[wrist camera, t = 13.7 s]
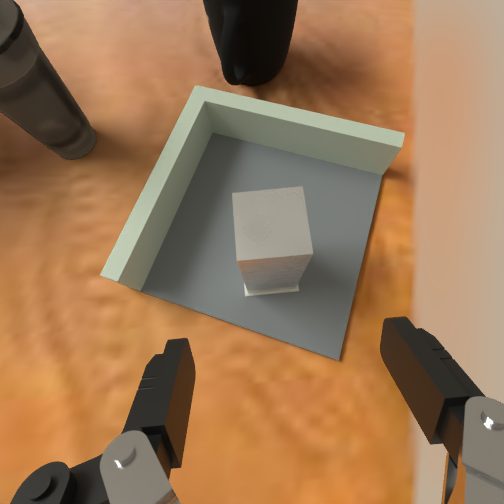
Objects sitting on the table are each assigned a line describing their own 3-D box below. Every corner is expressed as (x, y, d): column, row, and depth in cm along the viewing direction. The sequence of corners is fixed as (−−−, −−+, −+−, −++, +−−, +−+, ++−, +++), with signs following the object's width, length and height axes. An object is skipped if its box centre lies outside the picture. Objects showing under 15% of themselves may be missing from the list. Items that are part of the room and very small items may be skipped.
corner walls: (337, 360, 23) (353, 364, 19) (127, 286, 26) (99, 275, 21) (383, 165, 28) (404, 133, 24) (205, 120, 31) (195, 84, 27)
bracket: (294, 288, 24) (313, 253, 15) (248, 293, 24) (236, 260, 15) (283, 204, 27) (293, 128, 17) (241, 208, 27) (227, 134, 17)
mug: (229, 31, 35) (215, -89, 25) (301, 43, 34) (315, -77, 24) (194, 107, 32) (163, 3, 22) (273, 124, 30) (276, 22, 21)
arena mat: (337, 360, 23) (338, 360, 23) (127, 286, 26) (124, 285, 25) (383, 165, 28) (385, 162, 28) (205, 120, 31) (204, 117, 30)
